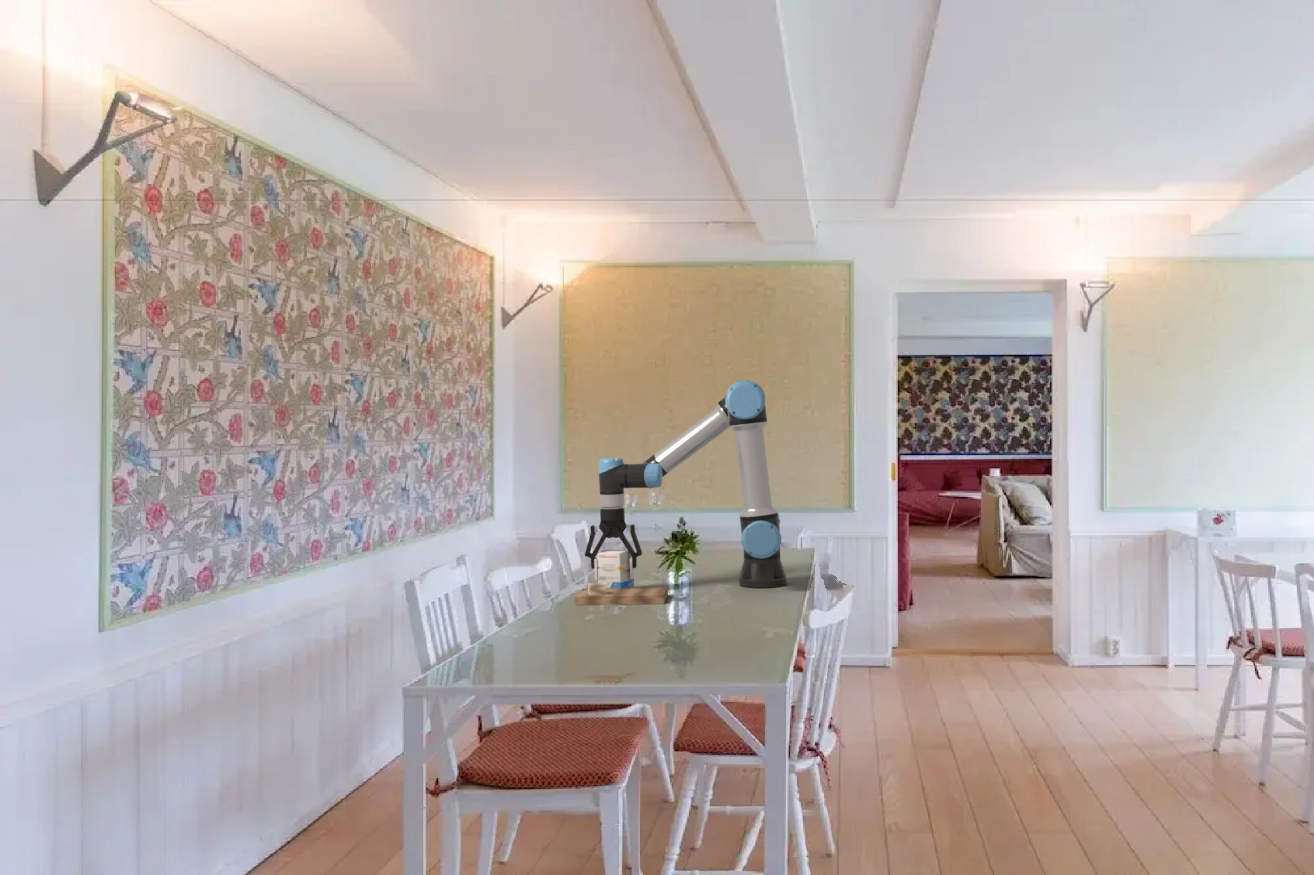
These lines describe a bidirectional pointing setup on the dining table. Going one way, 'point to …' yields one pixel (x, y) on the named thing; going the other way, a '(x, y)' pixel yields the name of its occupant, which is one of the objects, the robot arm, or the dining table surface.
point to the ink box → (614, 568)
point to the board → (624, 596)
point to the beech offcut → (597, 588)
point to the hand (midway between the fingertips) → (614, 578)
